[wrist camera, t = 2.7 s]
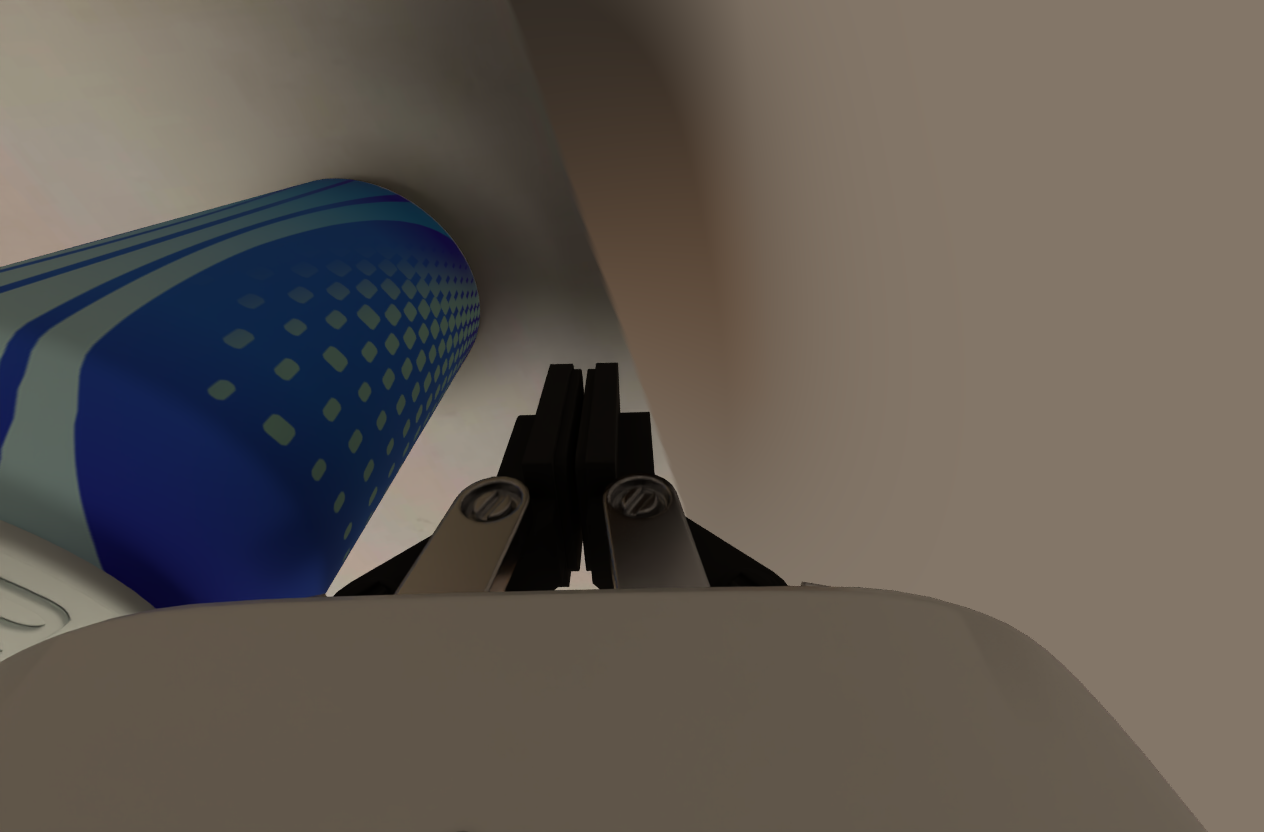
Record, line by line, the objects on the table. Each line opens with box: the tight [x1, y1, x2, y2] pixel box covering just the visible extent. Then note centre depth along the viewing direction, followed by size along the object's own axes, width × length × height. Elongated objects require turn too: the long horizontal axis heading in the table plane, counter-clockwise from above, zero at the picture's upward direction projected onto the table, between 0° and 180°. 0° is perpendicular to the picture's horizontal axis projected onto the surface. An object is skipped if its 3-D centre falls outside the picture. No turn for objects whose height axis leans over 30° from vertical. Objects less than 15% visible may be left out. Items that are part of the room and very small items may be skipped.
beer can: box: [0, 179, 480, 662], centre depth 14 cm, size 8×8×16 cm
